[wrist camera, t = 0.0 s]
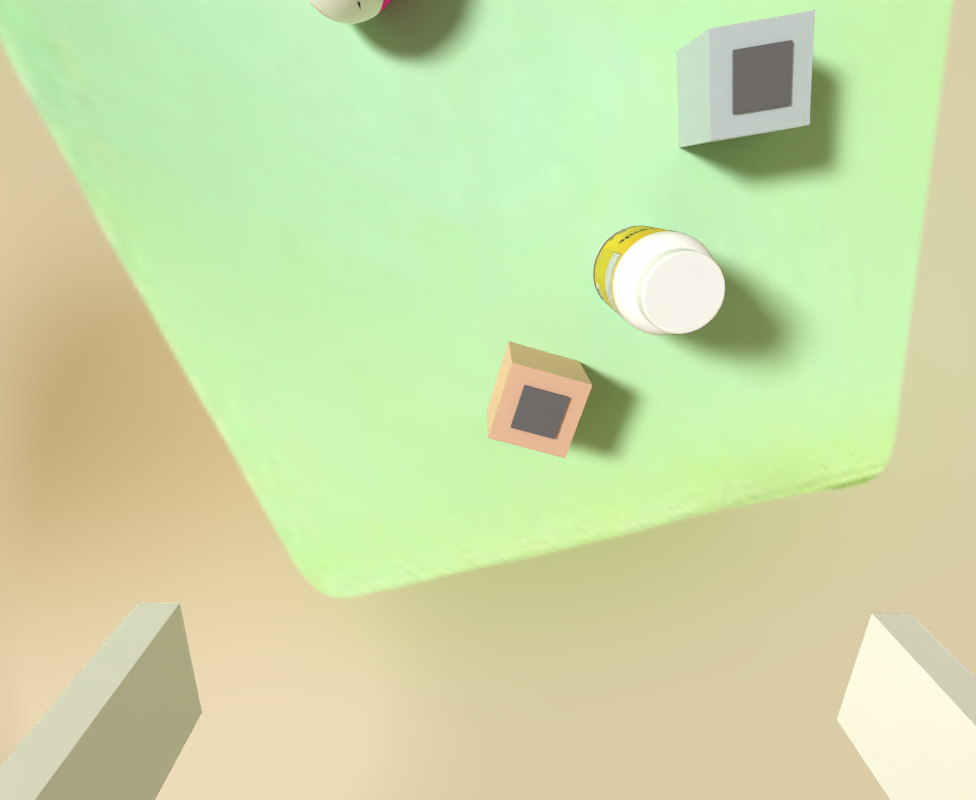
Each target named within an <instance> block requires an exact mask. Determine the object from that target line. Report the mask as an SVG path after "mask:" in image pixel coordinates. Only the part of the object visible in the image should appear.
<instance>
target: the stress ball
mask: <svg viewBox="0 0 976 800" xmlns="http://www.w3.org/2000/svg"><path fill="white" fill-rule="evenodd" d="M308 1H309V2H310V3H311V4H312V5H313V6H314V7H315V8H316V9H317V10H318V11H319V12H321V13H322V14H324V15H325V16H327V17H328V18H330V19H332V20H334V21H338V22H341V23H349V24H354V23H360V22H364V21H367V20H369V19H371V18H373V17H375V16H376V15H377V14H379V13H380V12H381V11H382V10H383V9H384V8H385V7H386V6H387V5H388V4H389V3H390V1H391V0H308Z"/></svg>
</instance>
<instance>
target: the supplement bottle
mask: <svg viewBox="0 0 976 800" xmlns="http://www.w3.org/2000/svg"><path fill="white" fill-rule="evenodd" d="M593 280H594V285H595V288H596V290H597V292H598V294H599V295H600V297H601V298H602V299H603V301H604V302H605V303H606V304H607V305H609V306H610V307H611V308H612V309H613V310H614V311H615V312H616V313H618V314H619V315H620V316H621V317H622V318H623V319H625V320H626V321H627V322H628V323H629V324H630V325H632V326H633V327H635V328H636V329H638V330H640V331H643V332H645V333H649V334H654V335H668V334H684V333H689V332H693V331H695V330H698V329H700V328H702V327H703V326H705V325H706V324H707V323H708V322H710V321H711V320H712V319H713V318H714V317H715V315H716V314H717V312H718V311H719V309H720V307H721V305H722V303H723V300H724V295H725V280H724V276H723V273H722V271H721V269H720V267H719V266H718V264H717V263H716V262H715V261H714V259H713V257H712V255H711V254H710V252H709V251H708V249H707V248H706V247H705V246H704V245H703V244H702V243H701V242H700V241H698V240H697V239H695V238H693V237H692V236H689V235H687V234H685V233H680V232H676V231H670V230H664V229H659V228H654V227H649V226H631V227H627V228H624V229H621V230H619V231H618V232H616V233H614V234H613V235H611V236H610V237H609V238H608V239H607V240H606V241H605V242H604V243H603V245H602V246H601V247H600V249H599V251H598V253H597V255H596V257H595V261H594V265H593Z"/></svg>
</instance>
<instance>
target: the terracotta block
mask: <svg viewBox="0 0 976 800" xmlns="http://www.w3.org/2000/svg"><path fill="white" fill-rule="evenodd" d="M591 388H592V383H591V381H590V380H589V378H588V376H587V374H586V373H585V371H584V369H583V367H582V365H581V364H580V362H579V361H576V360H572V359H569V358H565V357H562V356H558V355H555V354H551V353H548V352H544V351H541V350H537V349H534V348H530V347H526V346H523V345H519V344H516V343H512V342H509V341H508V345H507V348H506V351H505V354H504V357H503V361H502V364H501V367H500V370H499V373H498V377H497V380H496V383H495V386H494V389H493V392H492V396H491V399H490V402H489V405H488V408H487V412H488V438H491V439H495V440H499V441H502V442H506V443H510V444H514V445H518V446H521V447H525V448H529V449H533V450H537V451H540V452H544V453H548V454H552V455H555V456H559V457H563V458H565V457H566V454H567V452H568V449H569V446H570V444H571V441H572V438H573V436H574V433H575V430H576V428H577V425H578V422H579V420H580V417H581V415H582V412H583V409H584V407H585V404H586V401H587V399H588V396H589V393H590V391H591Z"/></svg>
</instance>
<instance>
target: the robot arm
mask: <svg viewBox="0 0 976 800" xmlns="http://www.w3.org/2000/svg"><path fill="white" fill-rule="evenodd" d="M201 713H202V711H201V706H200V701H199V696H198V692H197V686H196V682H195V677H194V672H193V667H192V662H191V657H190V652H189V647H188V642H187V637H186V632H185V627H184V623H183V617H182V613H181V607H180V603H150V602H138V603H137V604H136V606H135V607H134V608H133V609H132V610H131V612H130V613H129V614H128V615H127V616H126V618H125V619H124V620H123V621H122V622H121V624H120V625H119V626H118V627H117V628H116V630H115V631H114V632H113V633H112V634H111V636H110V637H109V638H108V639H107V640H106V641H105V643H104V644H103V645H102V646H101V647H100V649H99V650H98V651H97V652H96V653H95V655H94V656H93V657H92V658H91V659H90V661H89V662H88V663H87V664H86V666H85V667H84V668H83V669H82V670H81V671H80V673H79V674H78V675H77V676H76V677H75V679H74V680H73V681H72V682H71V683H70V685H69V686H68V687H67V688H66V690H64V692H63V693H62V694H61V695H60V697H59V698H58V699H57V700H56V701H55V702H54V704H53V705H52V706H51V707H50V709H49V710H48V711H47V712H46V713H45V714H44V716H43V717H42V718H41V719H40V720H39V722H38V723H37V724H36V725H35V726H34V728H33V729H32V730H31V731H30V732H29V734H28V735H27V736H26V737H25V738H24V740H23V741H22V742H21V743H20V744H19V745H18V747H17V748H16V749H15V750H14V752H13V753H12V754H11V755H10V756H9V757H8V759H7V760H6V761H5V762H4V764H3V765H2V766H1V767H0V800H155V798H156V797H157V795H158V793H159V791H160V789H161V787H162V785H163V784H164V782H165V780H166V778H167V776H168V774H169V772H170V770H171V769H172V767H173V765H174V763H175V761H176V759H177V757H178V756H179V754H180V752H181V750H182V748H183V746H184V744H185V743H186V741H187V739H188V737H189V735H190V733H191V732H192V730H193V728H194V726H195V724H196V722H197V720H198V719H199V717H200V715H201ZM837 721H838V722H839V723H840V725H841V726H842V728H843V729H844V731H845V732H846V734H847V735H848V737H849V738H850V740H851V741H852V743H853V744H854V746H855V747H856V749H857V750H858V752H859V753H860V755H861V756H862V758H863V759H864V761H865V762H866V764H867V765H868V767H869V768H870V770H871V771H872V773H873V774H874V776H875V777H876V779H877V780H878V782H879V783H880V785H881V786H882V788H883V789H884V791H885V792H886V794H887V795H888V797H889V798H890V800H976V677H975V676H974V675H973V674H972V673H971V672H970V671H969V670H968V669H967V668H966V667H965V666H964V665H963V664H962V663H961V662H960V661H959V660H958V659H957V658H956V657H955V656H954V655H952V654H951V653H950V651H948V650H947V649H946V648H945V647H944V646H943V645H942V644H941V643H940V642H939V641H938V640H937V639H936V638H935V637H934V636H933V635H932V634H931V633H930V632H929V631H928V630H927V629H926V628H925V627H924V626H923V625H922V624H921V623H920V622H919V621H918V620H917V619H916V618H915V617H914V616H913V615H912V614H898V613H872V614H871V617H870V620H869V623H868V626H867V629H866V632H865V635H864V639H863V642H862V645H861V648H860V651H859V654H858V657H857V660H856V663H855V666H854V669H853V672H852V675H851V678H850V681H849V684H848V687H847V690H846V694H845V697H844V700H843V703H842V706H841V709H840V712H839V715H838V718H837Z"/></svg>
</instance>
